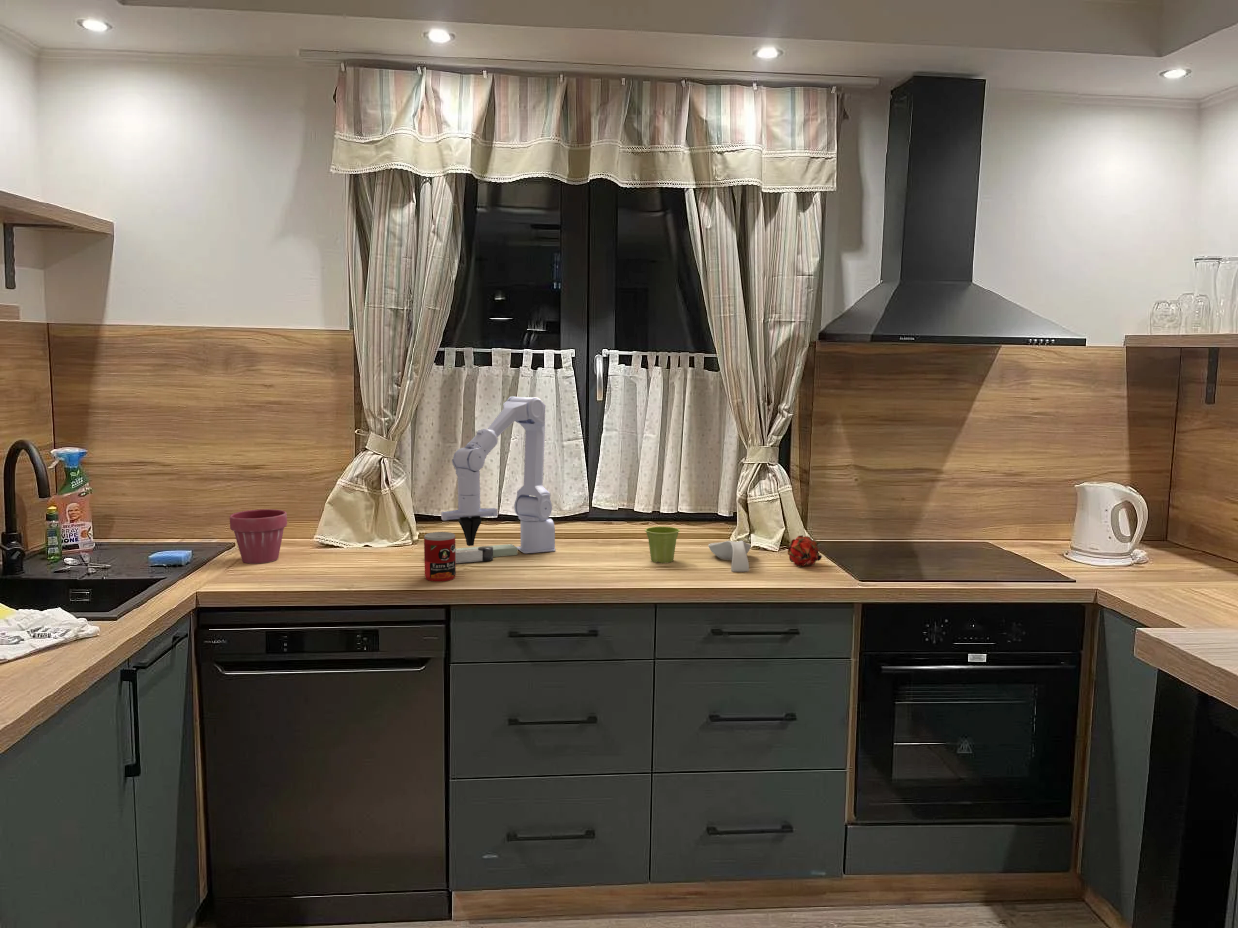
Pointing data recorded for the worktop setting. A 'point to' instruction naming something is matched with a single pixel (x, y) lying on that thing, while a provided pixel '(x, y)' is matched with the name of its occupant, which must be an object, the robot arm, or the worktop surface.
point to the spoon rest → (733, 554)
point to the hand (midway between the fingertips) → (470, 545)
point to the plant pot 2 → (662, 543)
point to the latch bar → (474, 554)
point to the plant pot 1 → (259, 534)
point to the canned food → (440, 556)
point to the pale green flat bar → (499, 550)
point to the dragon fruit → (803, 551)
